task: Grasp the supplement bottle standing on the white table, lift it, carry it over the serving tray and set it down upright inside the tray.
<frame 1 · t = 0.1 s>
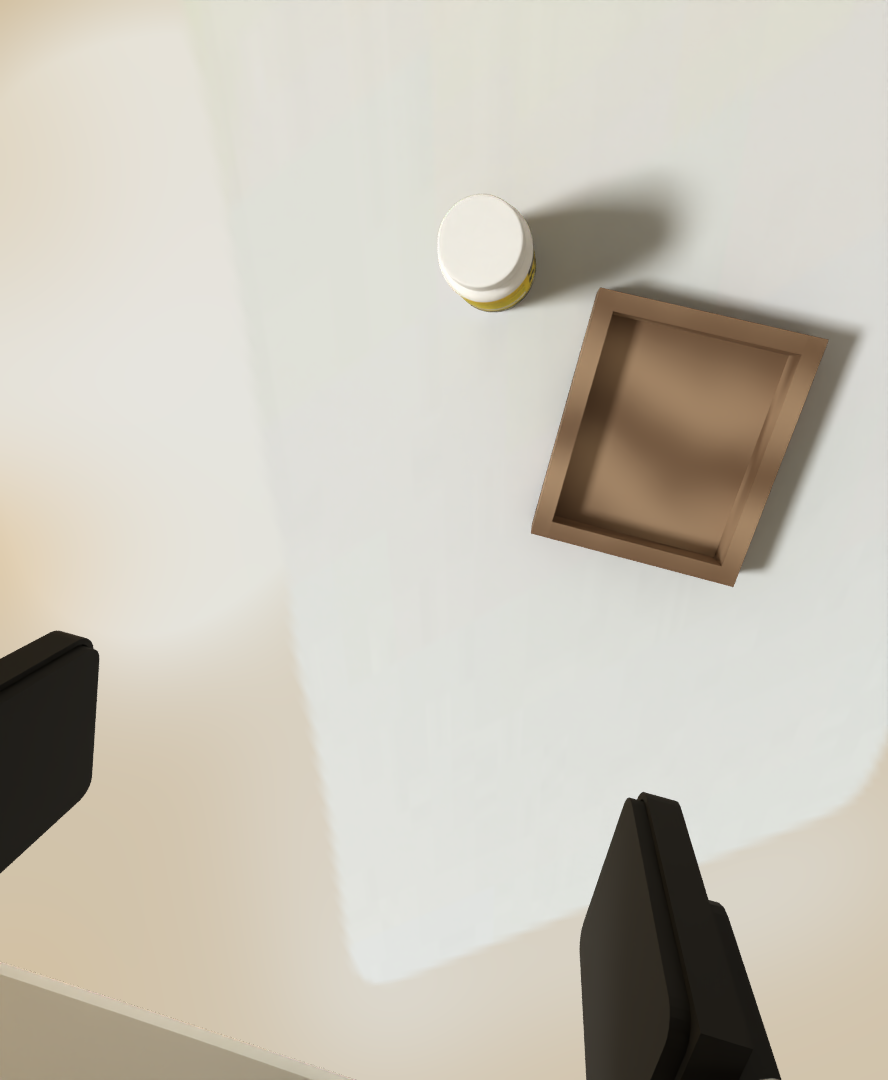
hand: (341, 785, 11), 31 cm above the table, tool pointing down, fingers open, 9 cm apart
tray: (662, 438, 38), on the table
supplement bottle: (495, 269, 38), on the table
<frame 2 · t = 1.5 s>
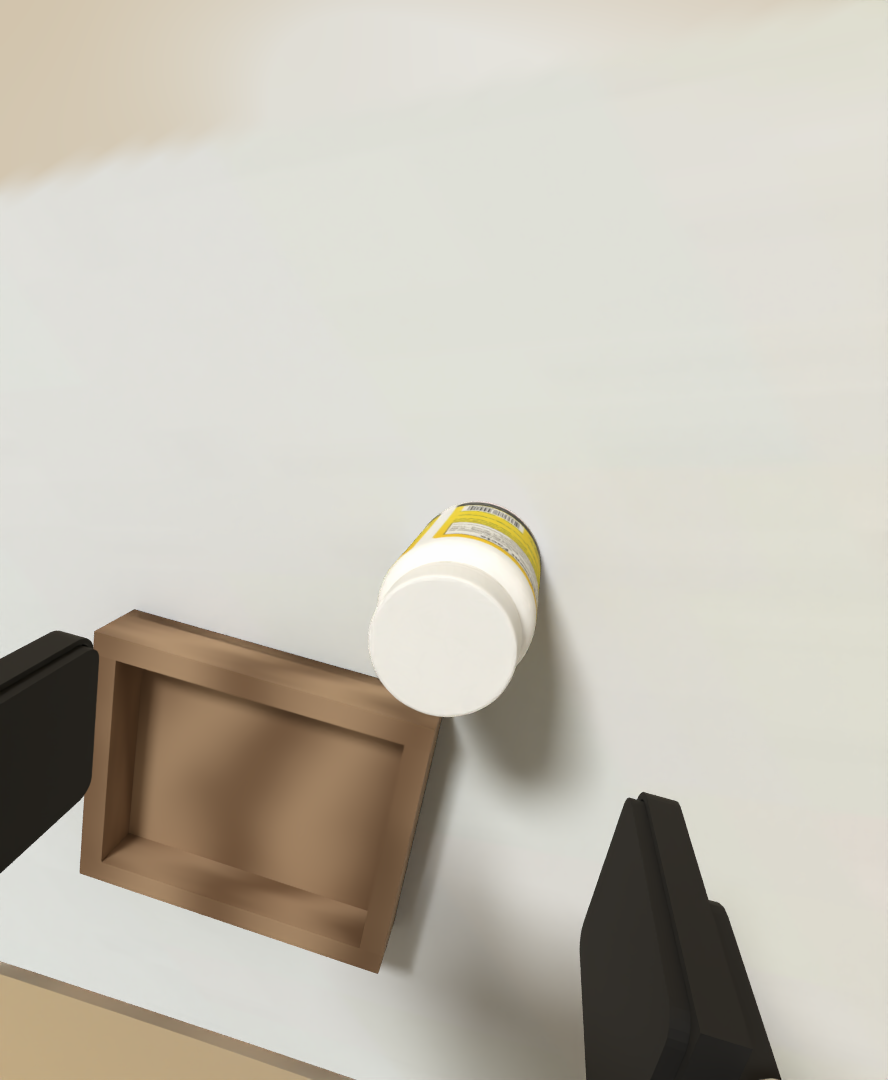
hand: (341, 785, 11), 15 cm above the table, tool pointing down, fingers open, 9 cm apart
tray: (267, 772, 29), on the table
supplement bottle: (479, 558, 25), on the table
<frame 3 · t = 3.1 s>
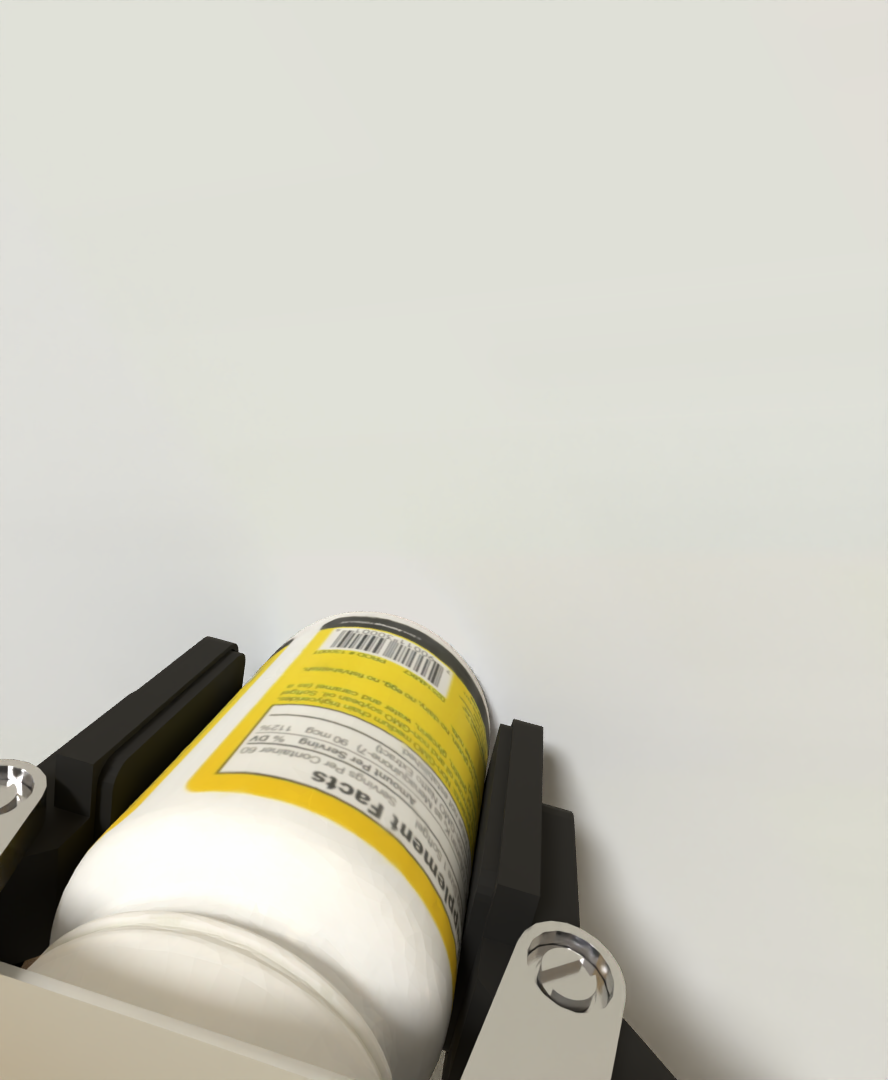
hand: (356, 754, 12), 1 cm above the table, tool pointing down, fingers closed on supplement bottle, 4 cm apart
supplement bottle: (379, 709, 13), on the table, touching gripper
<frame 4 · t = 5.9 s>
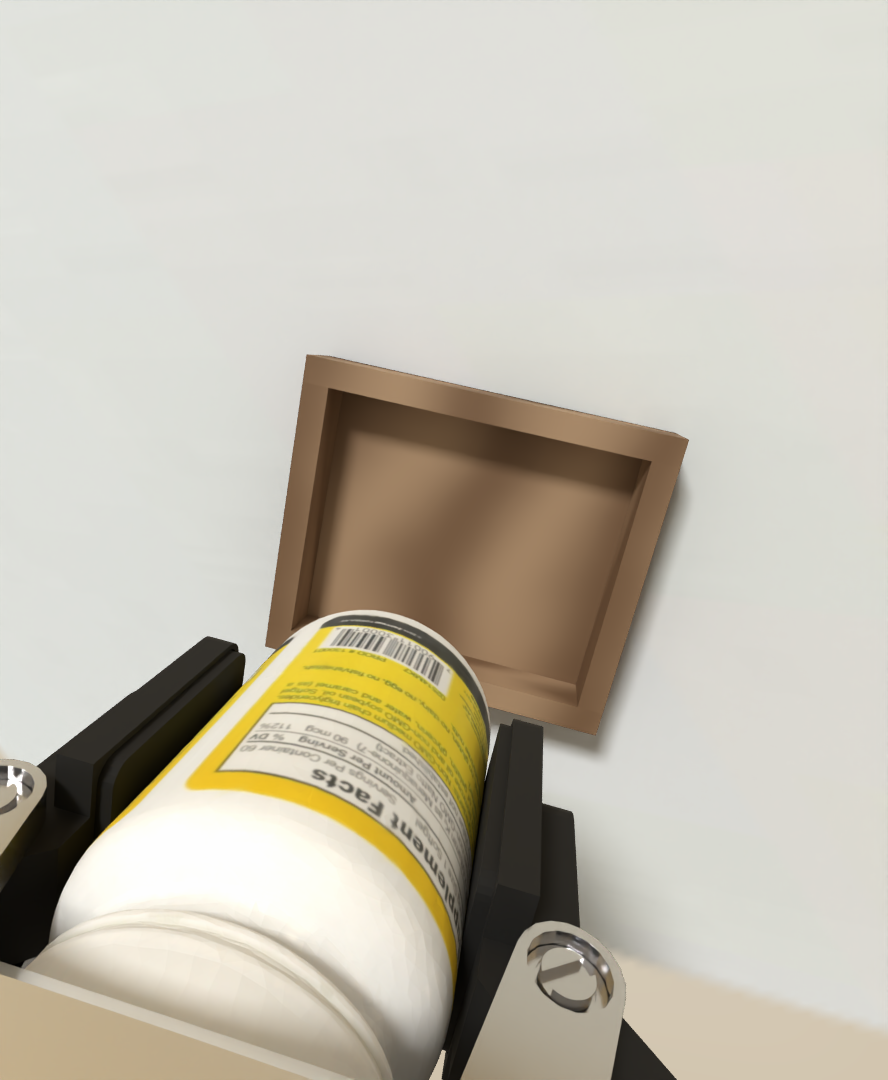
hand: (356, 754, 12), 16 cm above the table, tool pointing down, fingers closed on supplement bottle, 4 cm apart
tray: (465, 536, 27), on the table
supplement bottle: (379, 708, 13), point 15 cm above the table, touching gripper
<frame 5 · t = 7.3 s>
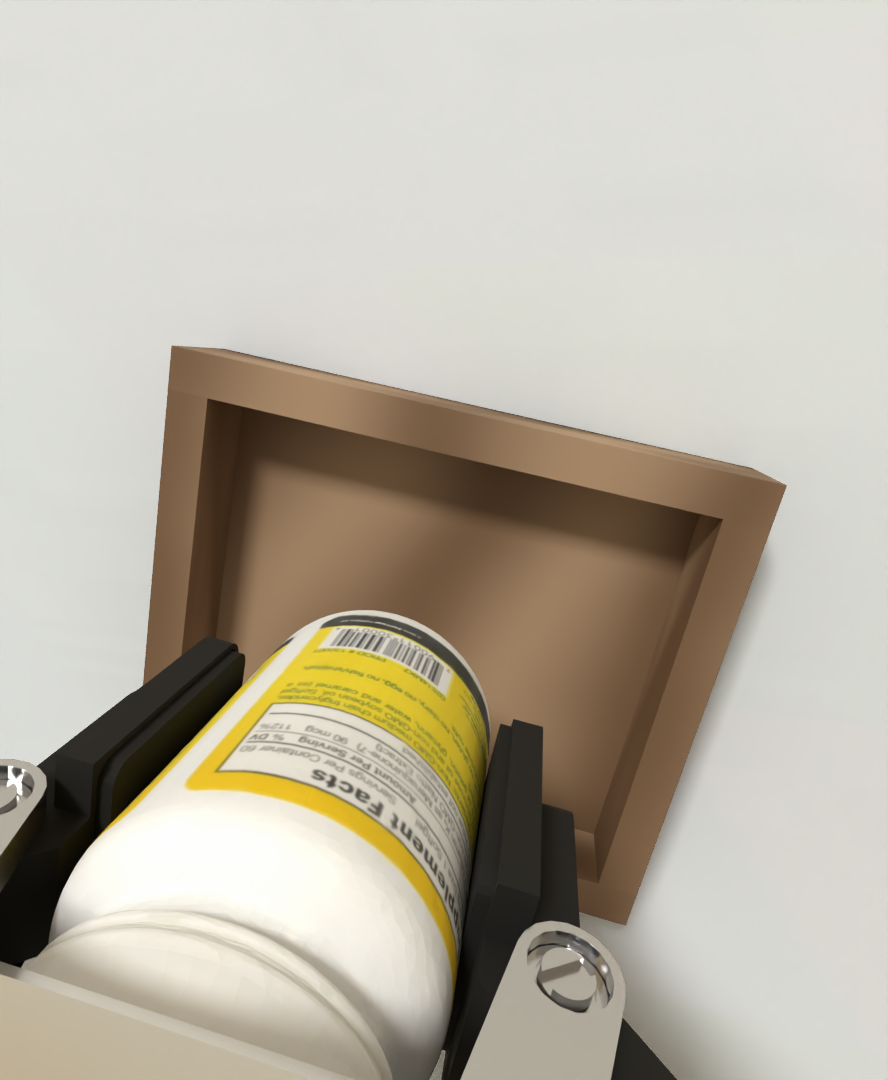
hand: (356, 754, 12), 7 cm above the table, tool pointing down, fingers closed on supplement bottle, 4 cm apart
tray: (430, 616, 18), on the table
supplement bottle: (379, 708, 13), point 5 cm above the table, touching gripper
when the fingers open (3 cm above the table, at t = 8.4 s): supplement bottle drops 1 cm, resting on tray.
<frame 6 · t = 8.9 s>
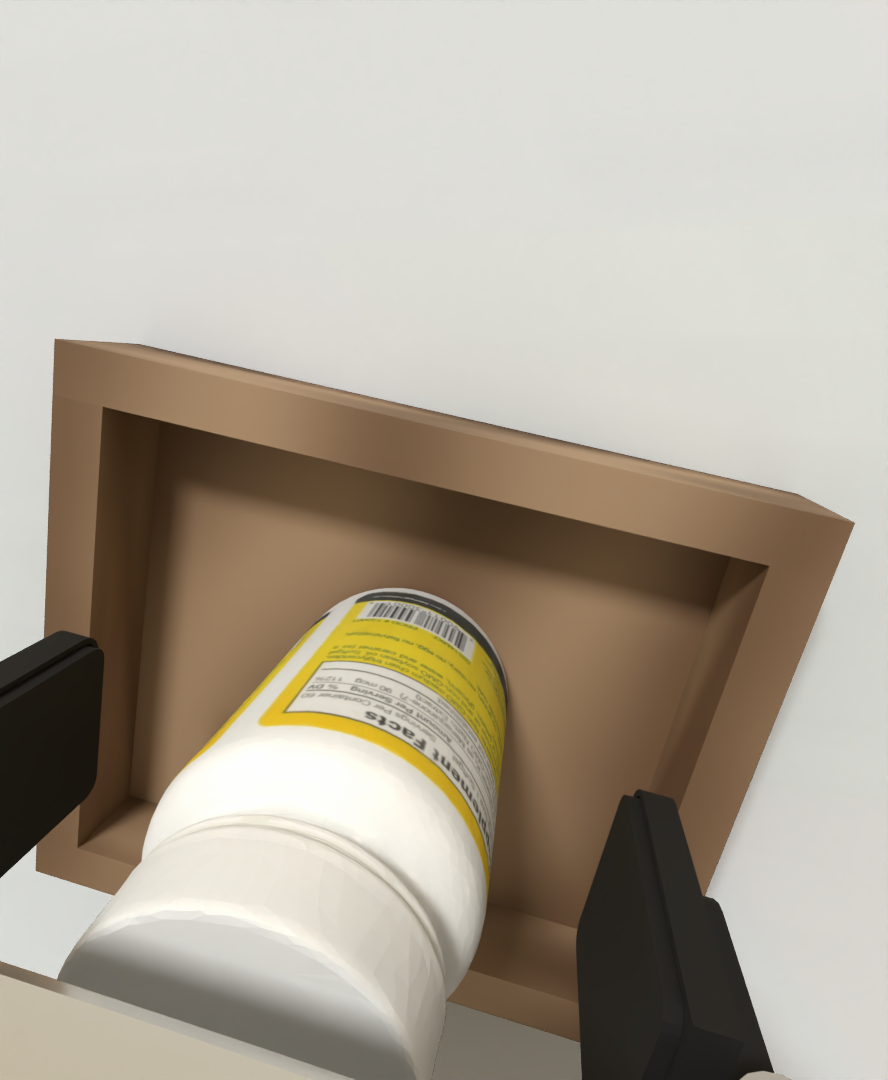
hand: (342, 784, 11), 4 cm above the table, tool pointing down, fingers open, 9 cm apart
tray: (398, 671, 15), on the table
supplement bottle: (405, 679, 15), resting on tray
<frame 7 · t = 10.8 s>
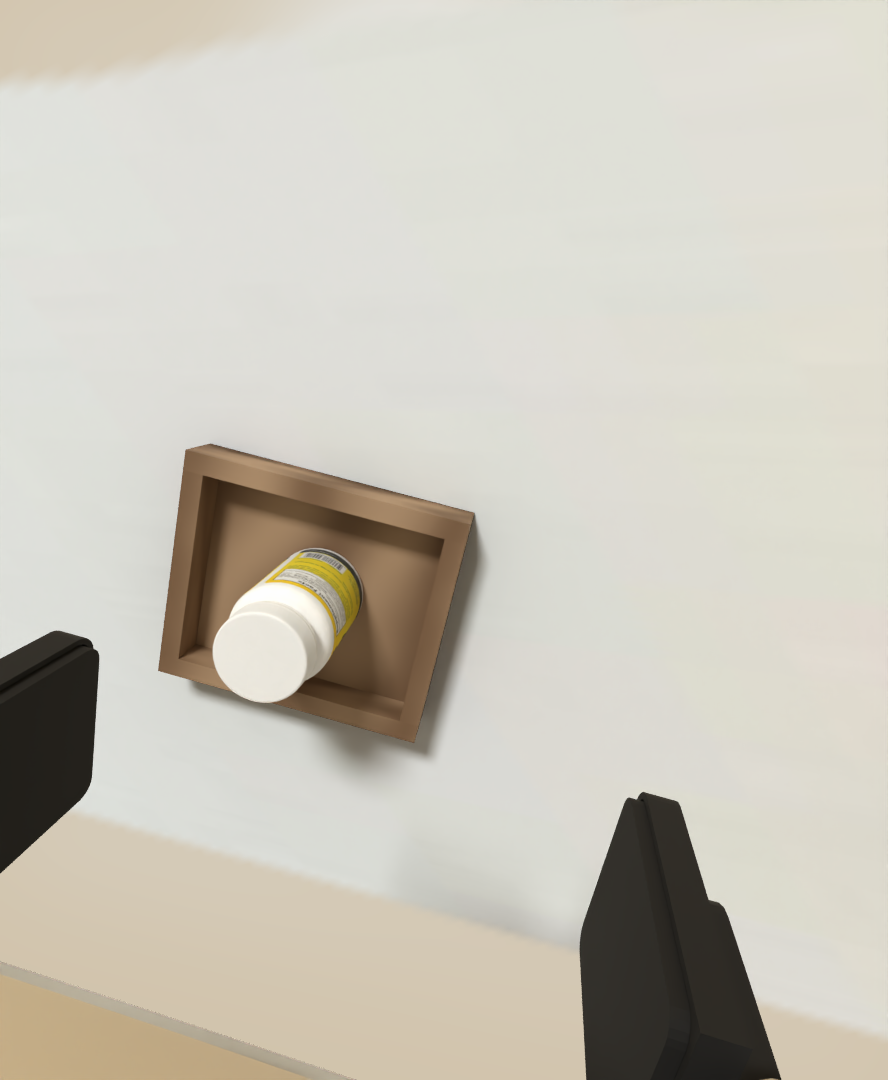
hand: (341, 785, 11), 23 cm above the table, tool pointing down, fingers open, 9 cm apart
tray: (319, 585, 35), on the table
supplement bottle: (322, 588, 34), resting on tray
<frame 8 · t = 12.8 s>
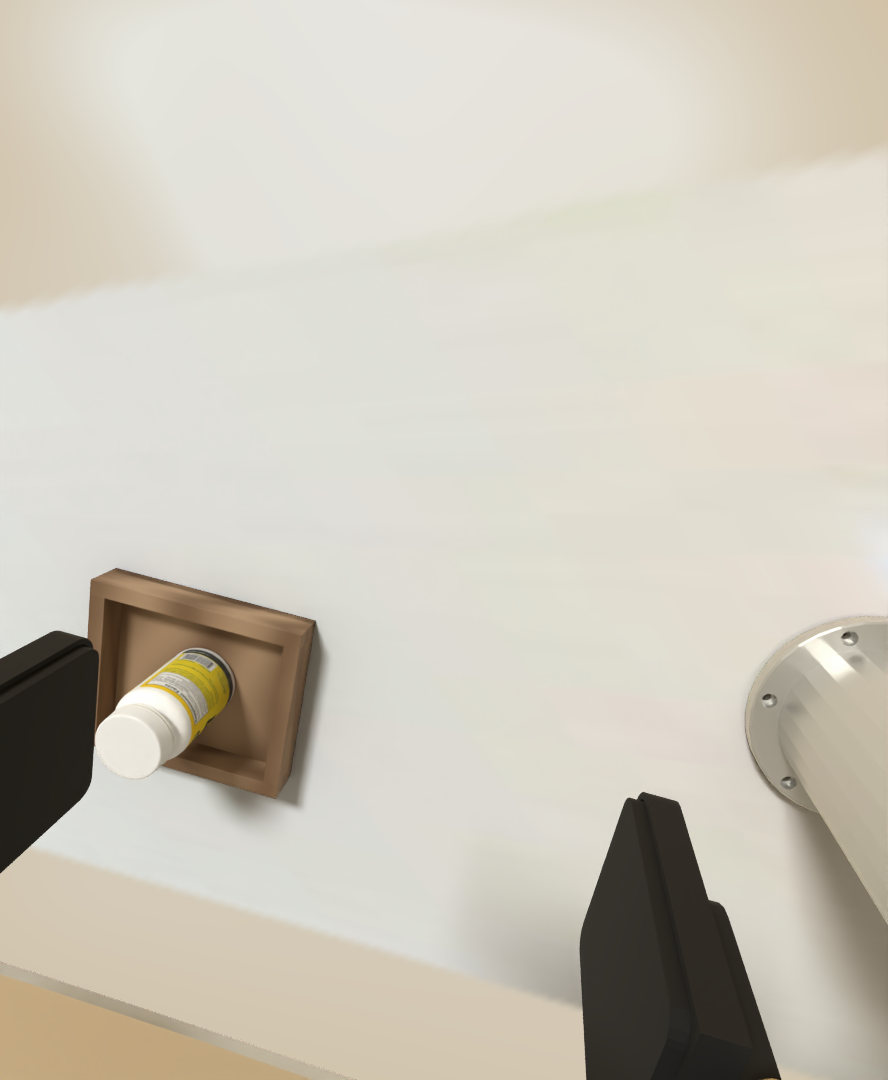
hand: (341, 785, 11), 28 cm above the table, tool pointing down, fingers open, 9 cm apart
tray: (205, 674, 44), on the table
supplement bottle: (205, 677, 44), resting on tray
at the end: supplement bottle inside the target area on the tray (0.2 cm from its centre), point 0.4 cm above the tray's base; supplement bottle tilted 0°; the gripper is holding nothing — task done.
